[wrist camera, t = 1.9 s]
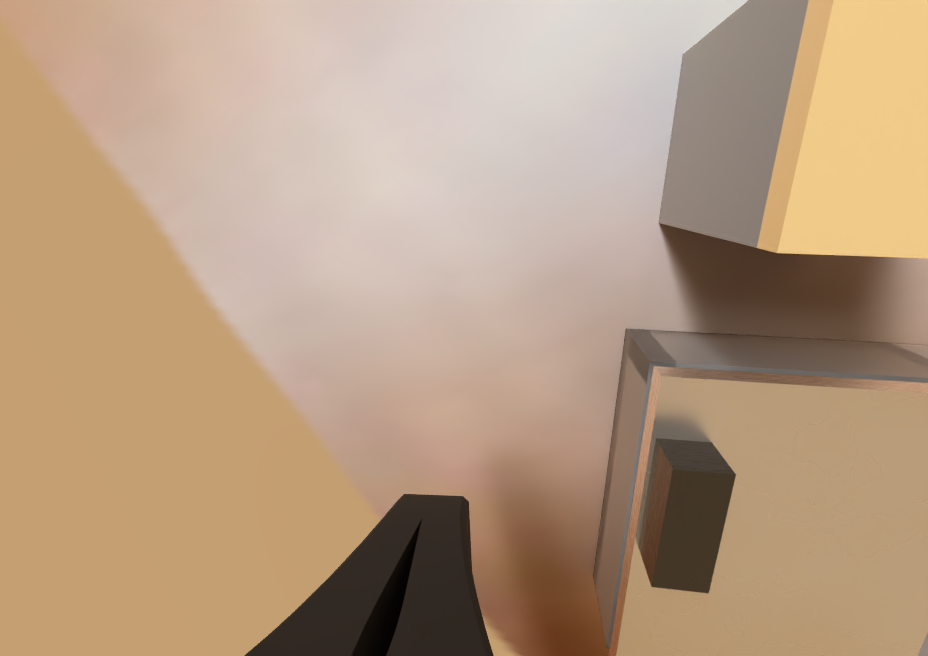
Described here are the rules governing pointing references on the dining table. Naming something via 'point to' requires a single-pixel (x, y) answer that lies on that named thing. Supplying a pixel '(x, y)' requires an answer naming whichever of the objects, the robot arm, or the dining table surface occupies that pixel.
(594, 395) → the dining table surface
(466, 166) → the dining table surface
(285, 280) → the dining table surface
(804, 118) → the block
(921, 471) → the lid
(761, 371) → the case
